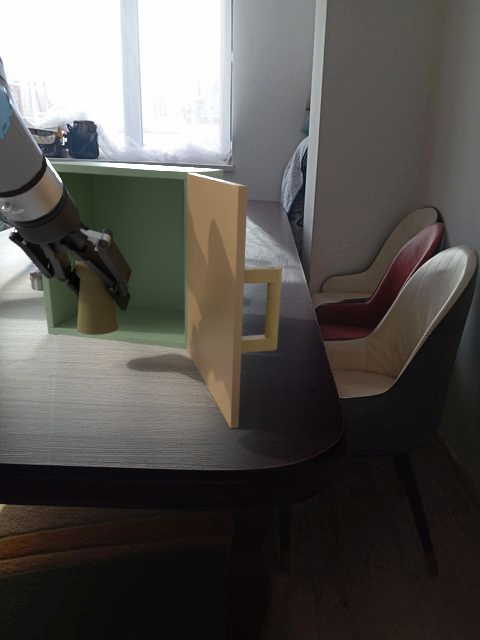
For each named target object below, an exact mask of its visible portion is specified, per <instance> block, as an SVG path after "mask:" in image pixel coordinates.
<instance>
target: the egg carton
mask: <svg viewBox="0 0 480 640" xmlns="http://www.w3.org/2000/svg"><path fill="white" fill-rule="evenodd" d="M29 280H30V285H31V289H32V290H36V291H41V290H42V291H43V290H44V289H43V279H42V273H41V271H40V270H39V269H38V268H37V269H36V270H33V272H29Z"/></svg>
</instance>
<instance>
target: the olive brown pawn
mask: <svg viewBox="0 0 480 640" xmlns="http://www.w3.org/2000/svg"><path fill="white" fill-rule="evenodd" d="M75 271H76V274H77V276H78V277H79V278H80V289H79V305H78V321H77V331H78V332H80V333H83V334H89V335H101V334H108V333H112V332H114V331H116V330H118V322H117V317H116V311H115V306H114V301H113V298H112V296H111V295H110V294H109V292H108V291H107V289H106V285H107V283H106V282H105V281H103V280H102V279H101V278H100V277H99V276H98V275H97V274H96V273H95V272H93V271H92V270H91V269H90V268H89V267H88V266H87V265H86V264H85V263H83V262H78V261H77V260H76V264H75Z"/></svg>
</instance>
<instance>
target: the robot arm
mask: <svg viewBox="0 0 480 640" xmlns="http://www.w3.org/2000/svg"><path fill="white" fill-rule="evenodd" d="M4 67H5V66H4V61H3V59H2V57H1V56H0V213H1V214H2V215H4V217H5V218H6V220H7V222H8V223H9V224H10V225H11V226H12V229H11V231H10V233H9V235H8V239H9V240H10V241H11V242H12V243H13V244H15V246H18V247H19V248H20V249H21V250H22V251H23V252H24V254H25V255H26V256H27V258H28V259H29V260H30V261H31V262H32V264H33V265H34V266H35V267H36V268H37V270H38V269H39V270H40V271H41V273H42V274H43V275H44V276H45V277H46V278H48V279H53V277H56V278H58V280H59V281H60V282H63V283H65V284H66V286H67V287H68V288H69V289H70V290H71V291H74V293H75V294H76V295H77V296H78V297H79V289H80V278H79V277H78V276H77V274H76V271H75V269H74V268H73V271H71V269H72V266H73V263H72V264H71V262H70V261H69V258H68V255H67V253H69V254H70V255H71V256H72V257H73V258H74V259H75V260H77V261H78V262H83V263H85V264H86V265H87V266H88V267H89V268H90V269H91V270H92V271H93V272H95V273H96V274H97V275H98V276H99V277H100V278H101V279H102V280H103V281H105V282H106V283H107V285H106V289H107V291H108V292H109V294H110V295H111V296H112V298H113V299H114V301H115V302H116V304H117V305H118V306H119V308H120V309H121V310H123V311H126V309H127V306H128V303H129V300H130V297H131V295H130V294H129V292H128V291H127V290H128V286H127V285H128V282H129V279H130V276H131V272H132V270H131V268H130V266H129V265H128V263H127V262H126V260H125V258H124V257H123V255H122V254H121V252H120V250H119V249H118V247H117V246H116V244H115V242H114V241H113V233H112V231H111V230H109V229H106V228H105V229H103V231H102V233H99V232H96V231H92V230H90V228H89V226H88V225H86V224H85V223H84V222H83V221H81V219H80V217H79V213H78V209H77V206H76V204H75V202H74V200H73V199H72V197H71V196H70V194H69V192H68V191H67V189H66V188H65V186H64V185H63V184H62V181H61V179H60V178H59V176H58V175H57V173H56V172H55V170H54V169H53V167H52V166H51V164H50V163H49V162H50V161H49V160H48V158H47V156H46V155H45V154H44V152H43V150H42V149H41V147H40V146H39V145H38V143H37V141H36V140H35V137H34V136H33V135H32V133H31V131H30V128H28V126H27V124H26V122H25V120H24V118H23V117H22V115H21V113H20V110H19V107H18V105H17V102H16V99H15V96H14V93H13V92H12V89H11V87H10V83H9V80H8V77H7V74H6V71H5V68H4Z"/></svg>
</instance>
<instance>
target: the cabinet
mask: <svg viewBox="0 0 480 640" xmlns="http://www.w3.org/2000/svg"><path fill="white" fill-rule="evenodd" d="M49 163H50V164H51V166H52V167H53V169H54V170H55V172H56V173H57V175H58V176H59V178H60V179H61V181H62V184H63V185H64V186H65V188H66V189H67V191H68V192H69V194H70V196H71V197H72V199H73V200H74V202H75V204H76V206H77V209H78V213H79V217H80V219H81V221H83V222H84V223H85V224H86V225H88V226H89V228H90V230H92V231H96V232H99V233H102V231H103V229H105V228H106V229H109V230H111V231H112V233H113V241H114V242H115V244H116V246H117V247H118V249H119V250H120V252H121V254H122V255H123V257H124V258H125V260H126V262H127V263H128V265H129V266H130V268H131V270H132V272H131V276H130V279H129V282H128V285H127V286H128V290H127V291H128V292H129V294H130V295H131V297H130V300H129V303H128V306H127V309H126V311H123V310H121V309H120V308H119V306H118V305H117V304H116V302H115V301H114V299H113V301H114V306H115V311H116V317H117V322H118V330H116V331H114V332H112V333H108V334H101V335H89V334H83V333H80V332H78V331H77V321H78V305H79V297H78V296H77V295H76V294H75V293H74V291H71V290H70V289H69V288H68V287H67V286H66V284H65V283H63V282H60V281H59V280H58V278H56V277H53V279H48V278H46V277H45V276H44V275H43V274H42V279H43V289H42V290H43V297H44V307H45V317H46V326H47V327H46V328H47V334H51V335H60V336H61V335H62V336H71V337H77V338H79V337H80V338H87V339H88V338H89V339H96V340H104V341H112V342H122V343H129V344H138V345H147V346H154V347H163V348H173V349H180V350H187V173H195V174H199V175H203V176H207V177H212V178H216V179H220V180H224V169H217V168H199V167H185V166H184V167H182V166H169V165H168V166H167V165H166V166H165V165H152V164H151V165H150V164H134V163H133V164H132V163H118V162H103V161H102V162H101V161H49ZM67 255H68V258H69V261H70V262H71V264H72V263H73V266H72V269H71V271H73V268H74V269H75V264H76V260H75V259H74V258H73V257H72V256H71V255H70V254H69V253H67Z"/></svg>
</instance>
